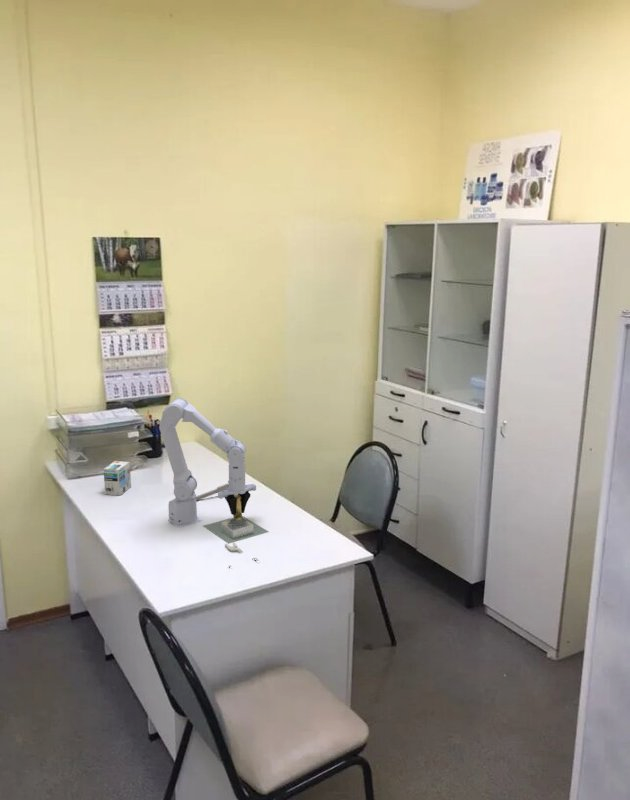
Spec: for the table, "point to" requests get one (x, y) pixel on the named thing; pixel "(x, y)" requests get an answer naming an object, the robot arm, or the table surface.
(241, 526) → the silver square socket
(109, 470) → the light bulb box
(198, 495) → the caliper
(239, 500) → the pin
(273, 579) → the table surface
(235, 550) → the pliers
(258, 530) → the mat
